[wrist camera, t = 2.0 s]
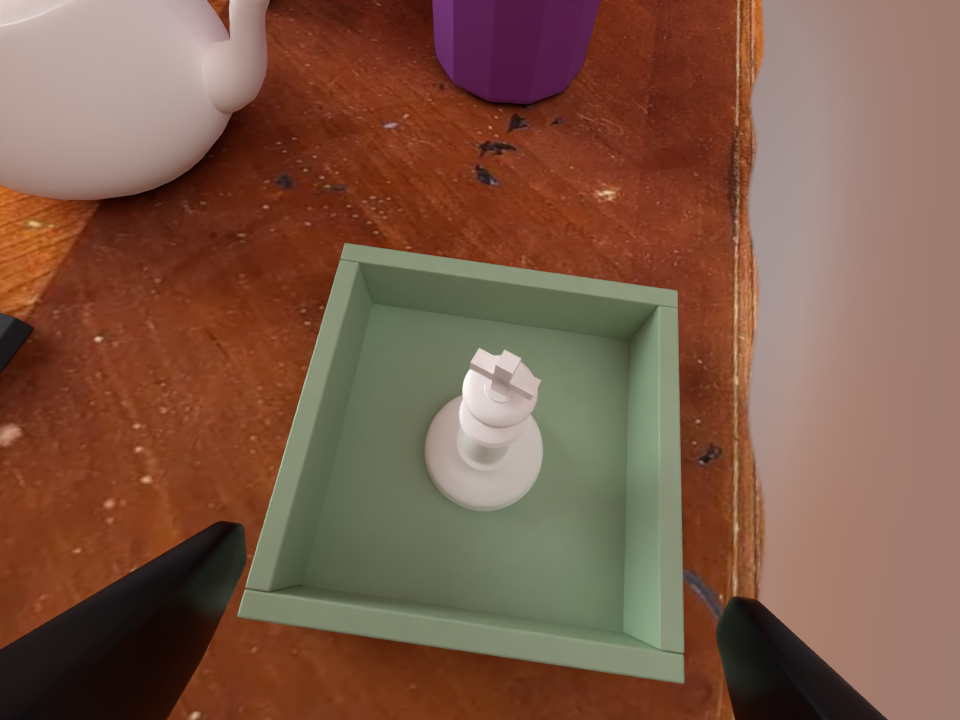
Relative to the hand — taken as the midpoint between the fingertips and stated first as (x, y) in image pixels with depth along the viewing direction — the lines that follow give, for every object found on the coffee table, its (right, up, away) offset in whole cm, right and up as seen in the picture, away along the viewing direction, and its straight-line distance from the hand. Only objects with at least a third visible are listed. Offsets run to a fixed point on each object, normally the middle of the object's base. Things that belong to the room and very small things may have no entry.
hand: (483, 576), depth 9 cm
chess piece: (0, 0, +12) cm, 11 cm away
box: (0, 0, +12) cm, 12 cm away
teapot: (-18, +17, +18) cm, 30 cm away
